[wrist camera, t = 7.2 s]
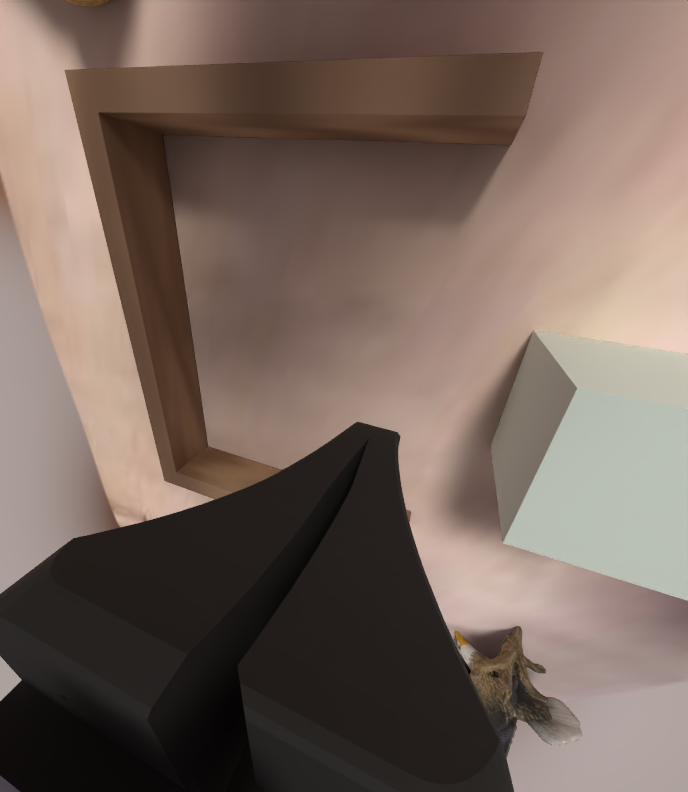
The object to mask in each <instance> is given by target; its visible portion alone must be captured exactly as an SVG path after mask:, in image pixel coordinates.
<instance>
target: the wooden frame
mask: <svg viewBox="0 0 688 792" xmlns="http://www.w3.org/2000/svg"><path fill="white" fill-rule="evenodd" d="M542 55H543V52H528V53H501V54H475V55H448V56H422V57H395V58H369V59H343V60H316V61H290V62H263V63H237V64H210V65H184V66H157V67H131V68H105V69H78V70H65V73H66V78H67V82H68V86H69V90H70V94H71V98H72V102H73V106H74V110H75V115H76V119H77V123H78V127H79V131H80V135H81V139H82V143H83V147H84V151H85V156H86V160H87V164H88V168H89V172H90V176H91V180H92V184H93V188H94V193H95V197H96V201H97V205H98V209H99V213H100V217H101V221H102V225H103V230H104V234H105V238H106V242H107V246H108V250H109V254H110V258H111V262H112V267H113V271H114V275H115V279H116V283H117V287H118V291H119V295H120V299H121V304H122V308H123V312H124V316H125V320H126V324H127V328H128V332H129V336H130V341H131V345H132V349H133V353H134V357H135V361H136V365H137V369H138V373H139V377H140V382H141V386H142V390H143V394H144V398H145V402H146V406H147V410H148V414H149V419H150V423H151V427H152V431H153V435H154V439H155V443H156V447H157V451H158V456H159V460H160V464H161V468H162V472H163V476H164V480H165V481H167V482H169V483H172V484H175V485H178V486H180V487H183V488H186V489H188V490H191V491H194V492H197V493H199V494H202V495H205V496H208V497H210V498H213V499H218V498H221V497H223V496H226V495H228V494H231V493H234V492H236V491H239V490H241V489H244V488H246V487H249V486H251V485H253V484H256V483H258V482H260V481H262V480H264V479H266V478H268V477H270V476H272V475H274V474H276V473H278V472H280V471H282V470H279V469H276V468H273V467H270V466H267V465H264V464H260V463H257V462H254V461H251V460H248V459H245V458H242V457H239V456H236V455H232V454H229V453H226V452H223V451H220V450H217V449H214V448H211V447H208V445H207V438H206V431H205V424H204V417H203V410H202V403H201V397H200V390H199V383H198V376H197V369H196V362H195V356H194V349H193V342H192V335H191V328H190V321H189V315H188V308H187V301H186V294H185V287H184V280H183V273H182V267H181V260H180V253H179V246H178V239H177V232H176V226H175V219H174V212H173V205H172V198H171V191H170V184H169V178H168V171H167V164H166V157H165V150H164V143H163V137H162V135H192V136H226V137H261V138H295V139H329V140H364V141H398V142H432V143H467V144H501V145H511V144H512V142H513V140H514V138H515V136H516V134H517V132H518V130H519V128H520V126H521V124H522V122H523V120H524V118H525V116H526V113H527V109H528V106H529V102H530V98H531V95H532V91H533V88H534V84H535V80H536V77H537V73H538V70H539V66H540V63H541V59H542ZM406 512H407V516H408V520H409V521H410V516H411V512H410V511H407V510H406Z"/></svg>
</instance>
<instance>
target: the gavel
mask: <svg viewBox="0 0 688 792" xmlns="http://www.w3.org/2000/svg"><path fill="white" fill-rule="evenodd" d="M65 1H67V2H70V3H73V4H76V5H79V6H90V7H92V6H97V5H102V4H104V3H106V2H108V1H110V0H65Z"/></svg>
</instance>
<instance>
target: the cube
mask: <svg viewBox="0 0 688 792" xmlns="http://www.w3.org/2000/svg"><path fill="white" fill-rule="evenodd" d="M490 448H491V456H492V464H493V471H494V479H495V487H496V495H497V502H498V510H499V518H500V525H501V533H502V541H503V543H504V544H508V545H511V546H514V547H517V548H520V549H524V550H527V551H530V552H533V553H536V554H540V555H543V556H546V557H549V558H552V559H556V560H559V561H562V562H565V563H568V564H571V565H575V566H578V567H581V568H584V569H587V570H591V571H594V572H597V573H600V574H603V575H607V576H610V577H613V578H616V579H619V580H623V581H626V582H629V583H632V584H635V585H639V586H642V587H645V588H648V589H651V590H655V591H658V592H661V593H664V594H667V595H671V596H674V597H677V598H680V599H683V600H687V601H688V354H686V353H680V352H673V351H666V350H660V349H653V348H646V347H640V346H633V345H627V344H620V343H613V342H607V341H600V340H593V339H587V338H580V337H574V336H567V335H560V334H554V333H547V332H540V331H534V330H533V333H532V335H531V338H530V341H529V343H528V346H527V349H526V352H525V354H524V357H523V360H522V362H521V365H520V368H519V370H518V373H517V376H516V379H515V381H514V384H513V387H512V389H511V392H510V395H509V397H508V400H507V403H506V405H505V408H504V411H503V414H502V416H501V419H500V422H499V424H498V427H497V430H496V432H495V435H494V438H493V441H492V443H491V446H490Z"/></svg>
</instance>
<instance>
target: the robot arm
mask: <svg viewBox="0 0 688 792" xmlns="http://www.w3.org/2000/svg"><path fill="white" fill-rule="evenodd" d="M399 441H400V435H399V434H398V432H394V431H391V430H387V429H383V428H379V427H375V426H372V425H368V424H364V423H360V422H357V423H355V424H353V425H352V426H350V427H349V428H348V429H346V430H345V431H344V432H342V433H341V434H339V435H338V436H337V437H335V438H334V439H332V440H331V441H329V442H328V443H326V444H325V445H323V446H322V447H320V448H319V449H317V450H316V451H314V452H313V453H311V454H310V455H308V456H306V457H305V458H303V459H301V460H299V461H298V462H296V463H294V464H293V465H291V466H289V467H287V468H286V469H284V470H282V471H280V472H278V473H276V474H274V475H272V476H270V477H268V478H266V479H264V480H262V481H260V482H258V483H256V484H253V485H251V486H249V487H246V488H244V489H241V490H239V491H236V492H234V493H231V494H228V495H226V496H223V497H221V498H218V499H215V500H213V501H210V502H207V503H205V504H202V505H199V506H196V507H192V508H189V509H186V510H183V511H180V512H177V513H173V514H170V515H166V516H163V517H160V518H156V519H153V520H149V521H145V522H141V523H137V524H133V525H129V526H125V527H121V528H117V529H113V530H108V531H104V532H100V533H96V534H92V535H87V536H82V537H78V538H73V539H72V540H71V541H69V542H68V543H67V544H65V545H64V546H63V547H61V548H60V549H59V550H57V551H56V552H55V553H53V554H52V555H51V556H50V557H48V558H47V559H46V560H44V561H43V562H42V563H40V564H39V565H38V566H36V567H35V568H34V569H32V570H31V571H30V572H29V573H27V574H26V575H25V576H23V577H22V578H21V579H19V580H18V581H17V582H15V583H14V584H13V585H12V586H10V587H9V588H8V589H6V590H5V591H4V592H2V593H1V594H0V656H1V657H2V658H3V659H4V660H5V662H6V663H7V664H8V665H9V666H10V667H11V668H12V669H13V670H14V672H15V673H16V674H17V675H18V676H19V677H20V678H21V679H22V681H21V682H20V683H19V684H18V685H17V686H16V687H15V688H14V689H13V690H12V691H11V692H10V693H9V694H8V695H7V696H6V697H4V698H3V700H2V701H0V792H514V789H513V785H512V781H511V777H510V772H509V768H508V764H507V759H506V755H505V751H504V748H503V744H502V740H501V738H500V736H499V734H498V732H497V730H496V727H495V726H494V724H493V722H492V720H491V718H490V716H489V714H488V712H487V710H486V708H485V706H484V704H483V702H482V700H481V698H480V696H479V694H478V692H477V690H476V688H475V686H474V684H473V682H472V680H471V677H470V675H469V673H468V671H467V669H466V667H465V665H464V663H463V661H462V659H461V657H460V654H459V652H458V650H457V648H456V646H455V643H454V641H453V639H452V637H451V634H450V632H449V630H448V628H447V626H446V623H445V621H444V619H443V616H442V614H441V611H440V609H439V606H438V604H437V601H436V599H435V596H434V594H433V591H432V589H431V586H430V584H429V581H428V579H427V576H426V574H425V571H424V568H423V566H422V563H421V560H420V557H419V554H418V551H417V548H416V545H415V541H414V538H413V535H412V531H411V528H410V524H409V520H408V516H407V512H406V508H405V503H404V498H403V493H402V488H401V481H400V473H399V464H398V445H399Z"/></svg>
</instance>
